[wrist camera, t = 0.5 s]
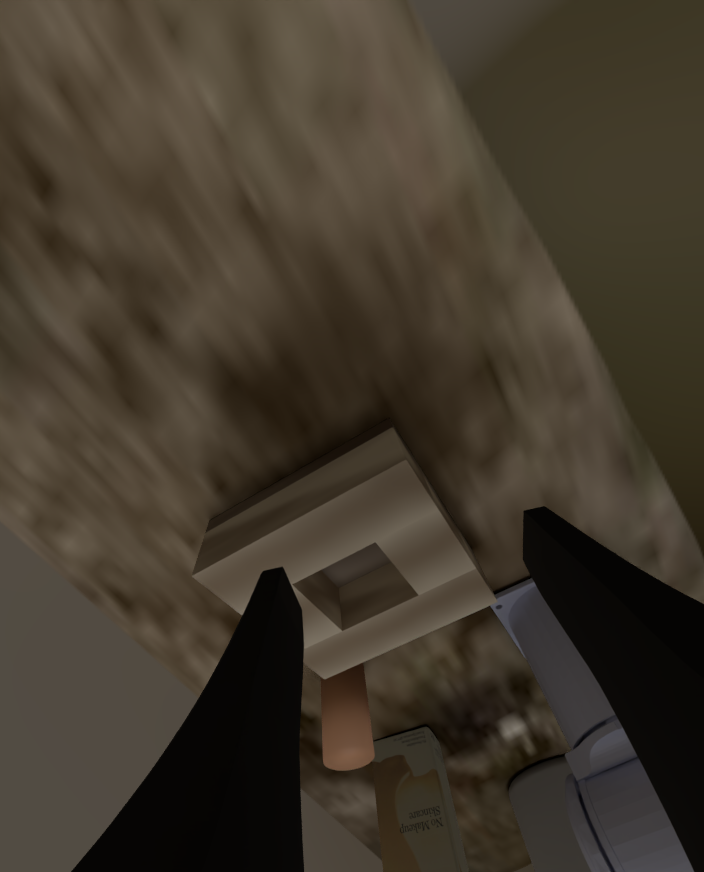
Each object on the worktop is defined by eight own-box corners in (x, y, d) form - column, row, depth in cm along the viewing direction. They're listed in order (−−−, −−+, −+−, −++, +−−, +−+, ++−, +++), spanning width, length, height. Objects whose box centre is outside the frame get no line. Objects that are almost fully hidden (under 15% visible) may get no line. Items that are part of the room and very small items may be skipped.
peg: (371, 669, 32) (383, 758, 27) (335, 685, 32) (340, 775, 27) (349, 650, 30) (358, 740, 25) (312, 667, 31) (313, 758, 26)
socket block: (472, 550, 26) (497, 601, 22) (322, 622, 28) (324, 679, 25) (389, 417, 20) (406, 459, 17) (209, 520, 22) (191, 576, 19)
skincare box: (427, 723, 37) (474, 923, 27) (439, 740, 39) (488, 933, 29) (365, 742, 38) (388, 945, 27) (381, 759, 40) (407, 953, 30)
